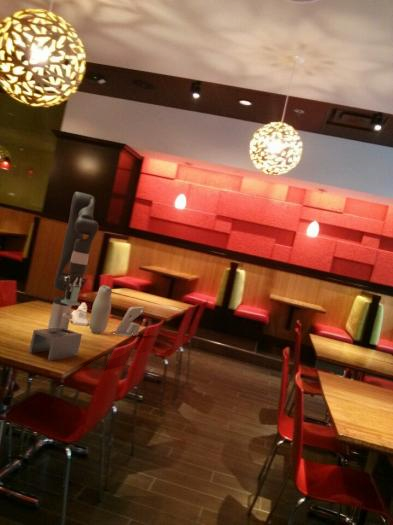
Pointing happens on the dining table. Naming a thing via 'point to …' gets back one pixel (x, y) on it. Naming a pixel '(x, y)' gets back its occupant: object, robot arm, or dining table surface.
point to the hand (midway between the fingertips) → (71, 298)
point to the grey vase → (101, 310)
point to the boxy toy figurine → (71, 302)
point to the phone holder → (129, 322)
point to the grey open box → (56, 342)
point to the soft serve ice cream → (80, 315)
